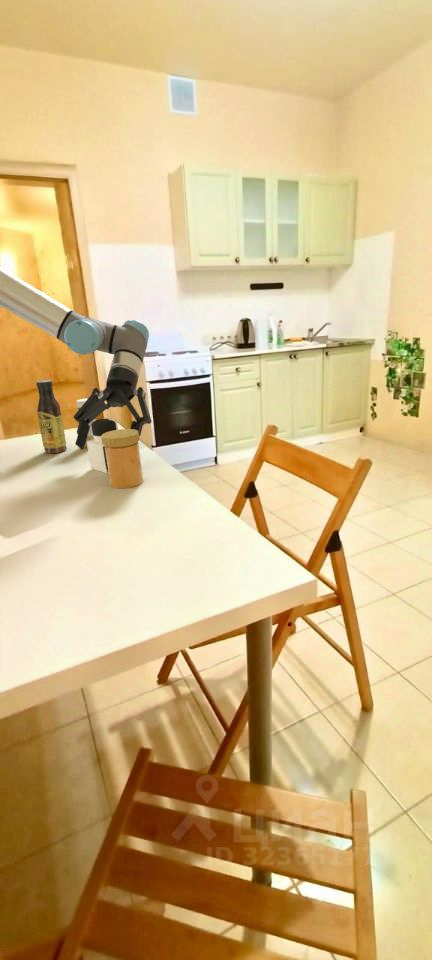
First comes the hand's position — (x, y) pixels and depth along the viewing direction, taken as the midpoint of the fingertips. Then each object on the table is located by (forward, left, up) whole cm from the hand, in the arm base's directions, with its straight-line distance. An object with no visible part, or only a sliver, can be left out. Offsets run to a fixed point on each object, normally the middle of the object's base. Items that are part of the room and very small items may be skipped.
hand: (104, 447), depth 107 cm
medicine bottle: (0, +2, -6) cm, 6 cm away
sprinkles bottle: (-20, +16, -6) cm, 26 cm away
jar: (+11, -5, -6) cm, 13 cm away
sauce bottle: (-26, +8, -6) cm, 28 cm away
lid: (+11, -5, +5) cm, 13 cm away
